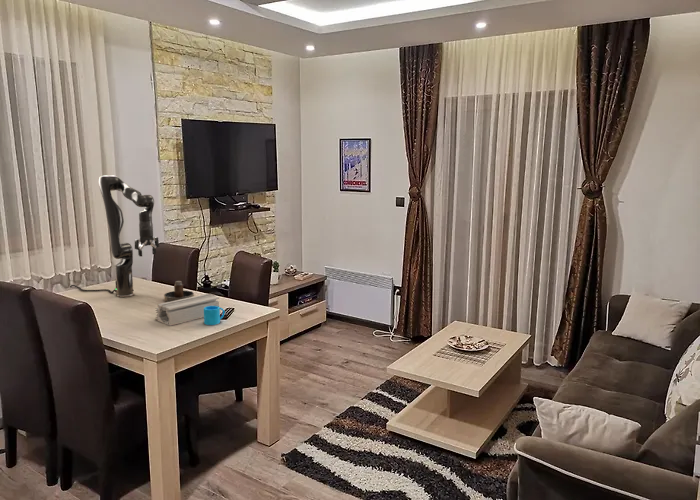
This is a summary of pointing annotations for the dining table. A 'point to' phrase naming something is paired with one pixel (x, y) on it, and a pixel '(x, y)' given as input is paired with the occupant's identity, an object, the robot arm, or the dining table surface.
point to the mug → (212, 315)
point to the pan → (171, 297)
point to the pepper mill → (178, 289)
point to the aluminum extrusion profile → (185, 309)
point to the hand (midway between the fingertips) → (147, 255)
